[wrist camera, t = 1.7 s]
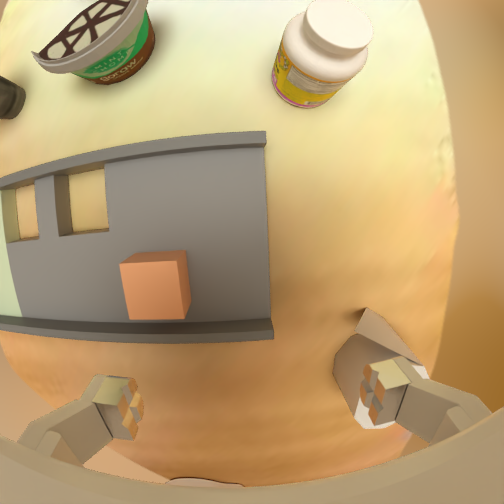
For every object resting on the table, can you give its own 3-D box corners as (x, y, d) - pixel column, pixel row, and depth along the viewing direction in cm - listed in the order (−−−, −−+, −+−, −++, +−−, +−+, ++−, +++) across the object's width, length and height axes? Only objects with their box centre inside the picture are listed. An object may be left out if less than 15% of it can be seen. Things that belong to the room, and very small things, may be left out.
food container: (95, 116, 25) (44, 94, 15) (75, 83, 24) (27, 56, 14) (187, 48, 24) (167, -3, 14) (160, 18, 23) (137, -31, 13)
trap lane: (260, 141, 27) (265, 130, 21) (268, 314, 31) (273, 339, 25) (-15, 191, 25) (-41, 194, 20) (5, 312, 29) (-16, 327, 24)
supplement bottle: (287, 45, 24) (315, -26, 12) (341, 75, 25) (397, 21, 13) (259, 90, 26) (273, 26, 13) (316, 121, 26) (369, 79, 14)
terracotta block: (185, 249, 26) (176, 260, 22) (191, 300, 27) (184, 318, 23) (135, 253, 25) (119, 263, 22) (143, 302, 27) (129, 319, 23)
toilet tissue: (367, 291, 31) (403, 323, 22) (405, 358, 33) (435, 393, 25) (303, 338, 32) (322, 383, 23) (352, 397, 34) (374, 438, 26)
